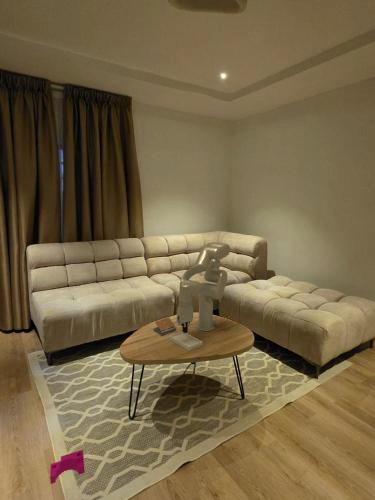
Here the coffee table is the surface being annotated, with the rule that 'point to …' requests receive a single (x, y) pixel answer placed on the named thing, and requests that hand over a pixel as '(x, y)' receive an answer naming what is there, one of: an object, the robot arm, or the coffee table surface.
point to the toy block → (67, 465)
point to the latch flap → (165, 324)
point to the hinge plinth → (164, 331)
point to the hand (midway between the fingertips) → (185, 332)
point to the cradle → (185, 340)
